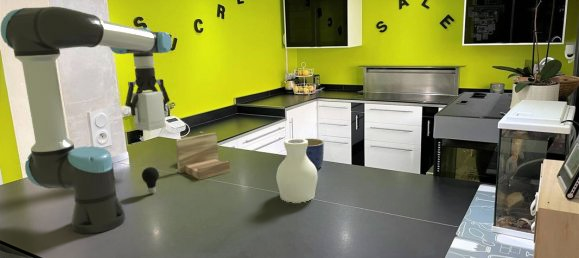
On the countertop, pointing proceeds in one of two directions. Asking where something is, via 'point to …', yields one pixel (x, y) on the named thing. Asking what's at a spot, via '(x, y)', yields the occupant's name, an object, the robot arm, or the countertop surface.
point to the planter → (315, 151)
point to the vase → (296, 173)
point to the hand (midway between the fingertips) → (149, 121)
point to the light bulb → (150, 178)
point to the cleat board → (200, 156)
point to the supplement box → (150, 110)
